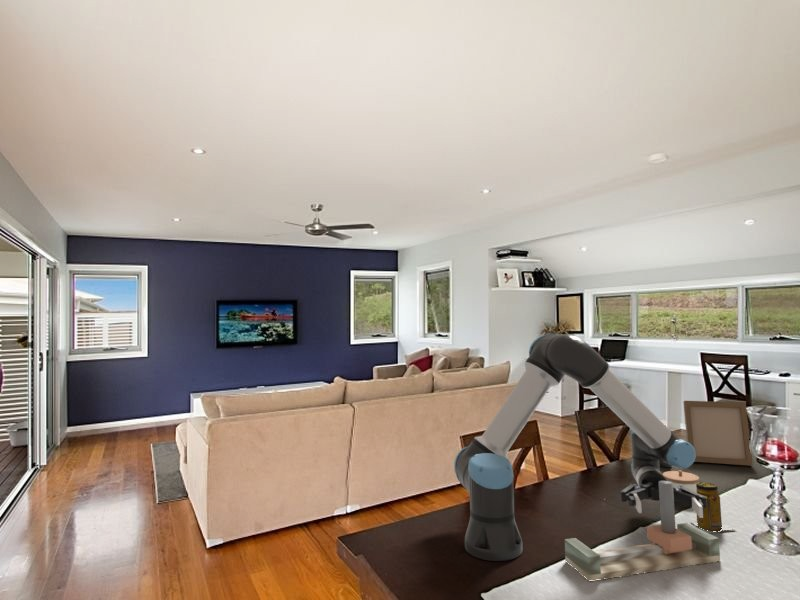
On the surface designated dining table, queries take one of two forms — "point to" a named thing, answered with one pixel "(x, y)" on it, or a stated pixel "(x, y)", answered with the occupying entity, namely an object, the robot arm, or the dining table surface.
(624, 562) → the rail track
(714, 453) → the photo frame
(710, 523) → the condiment
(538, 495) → the dining table surface
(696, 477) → the lidded jar
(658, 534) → the carriage
